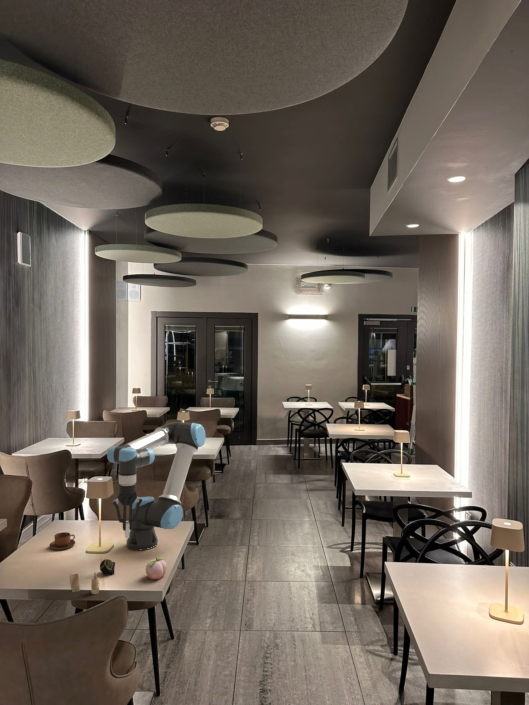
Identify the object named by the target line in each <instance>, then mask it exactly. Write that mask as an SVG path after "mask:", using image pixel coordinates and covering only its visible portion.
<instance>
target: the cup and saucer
mask: <svg viewBox="0 0 529 705" xmlns="http://www.w3.org/2000/svg"><path fill="white" fill-rule="evenodd" d="M71 537H73V538H72V539H71ZM75 539H76V535H75V534H71V533H70V532H66V531H64V532H59V533H55V534H54V540H53V541H52V542H50V543H49V548H51V549H53V550H58V551H59V550H66V549H69V548H72V547H74V545H75V544H76V540H75Z"/></svg>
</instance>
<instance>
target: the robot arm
mask: <svg viewBox="0 0 529 705" xmlns="http://www.w3.org/2000/svg"><path fill="white" fill-rule="evenodd" d="M205 442H206V431H205V428H204V427H203V424H200V423H196V422H182V421H181V422H180V421H174V422H170V423H168V424H164V425H161V426H159V427H156V428H155V430H154V431H152V432H150V433H148V434H146V435H144V436H141V437H139V438H137V439H134V440H132V441H130V442H127V443H126V444H124V445H121V446H117V445H116V446H111V447H110V448H109V449H108V450H107V453H106V456H107V457H106V458H107V460H108V461H109V463H114V464H118V483H119V485H118V495H117V497H116V499H113V500H112V504H113V506H114V508H115V511H116V515H117V519H118V522H119V523H122V531H123V532H124V537H125V539H126V548H127V549H129V550H132V549H133V551H141V550H140V549H146V550H148V549H147V548H151V547H153V546H155V545H157V546H158V544H159V542H158V541H159V539H158V536H157V533H156V529H155V528H158V529H159V528H160V529H163V530H174V529H176V528H177V527H178V526H179V524H181V522H182V520H183V516H184V513H183V512H184V509H183V507H182V501H181V500H180V498H181V495H182V492H183V488H184V485H185V482H186V479H187V475H188V473H189V469H190V465H191V462H192V460H193V455H194V454H195V453H197V452H198V451H199V450H198V449H199V448H200V447H203V446H204V445H205ZM166 445H174V446H175V448H176V451H175V455H174V458H173V461H172V464H171V468H170V470H169V474H168V477H167V480H166V483H165V486H164V489H163V492H162V494H161V495H159V496H158V498H157V500H156V501H155V497H153V496H141V497H139V496H138V493H137V484H136V483H137V469H138V468H142V467H145V466H148V465H151V464H153V462H155V457H156V455H155V451H154V450H153V449H155V448H156V447H159V446H166ZM119 503H120V504H121V505H122V516H121V511H120V508H119ZM127 506H128V521H127ZM157 543H158V544H157ZM155 547H156V546H155ZM153 548H154V547H153ZM151 549H152V548H151Z"/></svg>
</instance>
